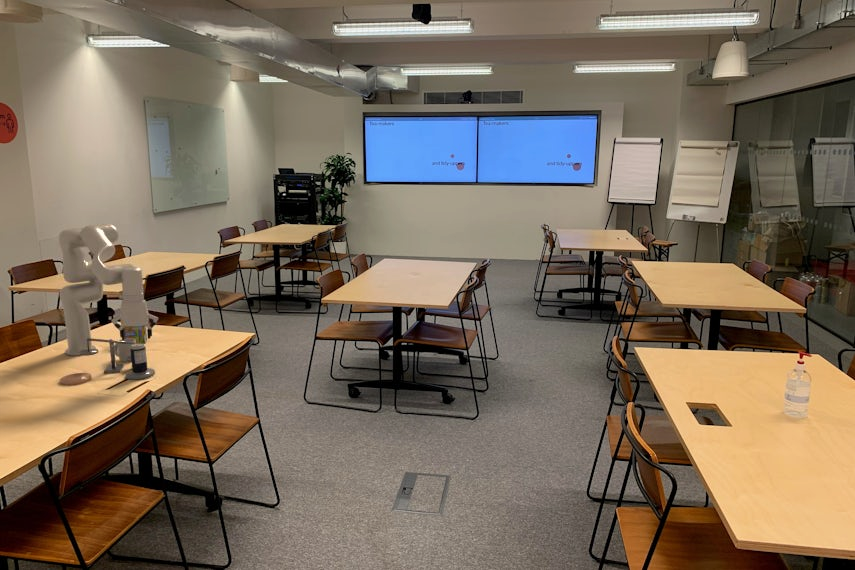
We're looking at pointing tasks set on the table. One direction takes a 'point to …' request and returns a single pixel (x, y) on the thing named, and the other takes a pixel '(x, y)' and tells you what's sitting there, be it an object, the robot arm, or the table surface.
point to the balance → (113, 366)
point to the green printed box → (136, 333)
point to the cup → (123, 349)
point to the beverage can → (138, 358)
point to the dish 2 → (147, 374)
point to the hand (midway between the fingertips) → (136, 338)
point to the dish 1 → (75, 379)
